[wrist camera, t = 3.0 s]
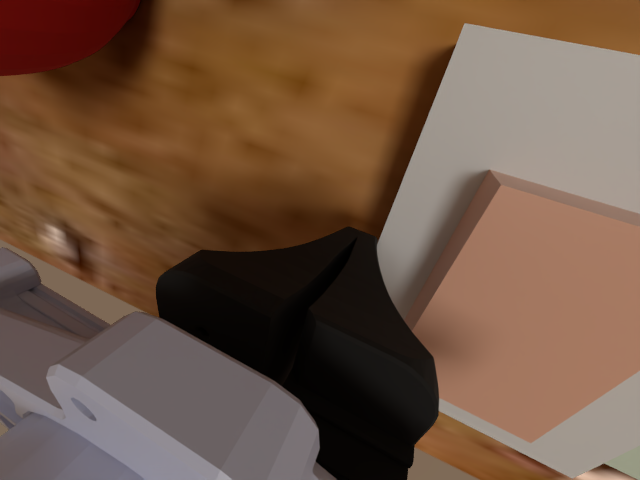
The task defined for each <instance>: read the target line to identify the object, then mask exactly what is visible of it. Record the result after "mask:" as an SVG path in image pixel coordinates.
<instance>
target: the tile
mask: <svg viewBox="0 0 640 480" xmlns="http://www.w3.org/2000/svg"><path fill="white" fill-rule="evenodd" d="M404 321H405V323H406V324H407V325H408V327H409V328H410V330H411V331H412V332H413V334H414V335H415V336H416V337H417V338H418V339H419V341H420V342H421V343H422V344H423V345H424V346H425V348H426V349H427V350H428V351H429V352H430V353H431V355H432V356H433V357H434V361H435V367H436V374H437V380H438V388H439V398H440V399H443V400H445V401H447V402H449V403H451V404H453V405H455V406H457V407H459V408H461V409H463V410H465V411H467V412H469V413H471V414H473V415H475V416H477V417H479V418H481V419H483V420H485V421H487V422H489V423H491V424H493V425H495V426H497V427H499V428H501V429H503V430H505V431H507V432H509V433H511V434H513V435H515V436H517V437H519V438H521V439H523V440H525V441H527V442H529V443H532V442H534V441H535V440H537V439H538V438H540V437H541V436H543V435H544V434H546V433H547V432H549V431H550V430H552V429H553V428H555V427H556V426H558V425H559V424H561V423H562V422H564V421H565V420H567V419H568V418H570V417H571V416H573V415H574V414H576V413H577V412H579V411H580V410H582V409H583V408H585V407H586V406H588V405H589V404H591V403H592V402H594V401H595V400H597V399H598V398H600V397H601V396H603V395H604V394H606V393H607V392H609V391H610V390H612V389H613V388H615V387H616V386H618V385H619V384H621V383H622V382H623V381H625V380H626V379H628V378H629V377H631V376H632V375H634V374H635V373H637V372H638V371H640V214H638V213H635V212H632V211H628V210H625V209H622V208H618V207H615V206H611V205H608V204H605V203H601V202H598V201H594V200H591V199H588V198H584V197H581V196H578V195H574V194H571V193H567V192H564V191H561V190H557V189H554V188H550V187H547V186H544V185H540V184H537V183H533V182H530V181H527V180H523V179H520V178H517V177H513V176H510V175H506V174H503V173H500V172H496V171H493V170H489V171H488V173H487V174H486V176H485V178H484V180H483V181H482V183H481V185H480V187H479V188H478V190H477V192H476V194H475V196H474V197H473V199H472V201H471V203H470V204H469V206H468V208H467V210H466V211H465V213H464V215H463V217H462V219H461V220H460V222H459V224H458V226H457V227H456V229H455V231H454V233H453V234H452V236H451V238H450V240H449V241H448V243H447V245H446V247H445V249H444V250H443V252H442V254H441V256H440V257H439V259H438V261H437V263H436V264H435V266H434V268H433V270H432V272H431V273H430V275H429V277H428V279H427V280H426V282H425V284H424V286H423V287H422V289H421V291H420V293H419V295H418V296H417V298H416V300H415V302H414V303H413V305H412V307H411V309H410V310H409V312H408V314H407V316H406V317H405V319H404Z"/></svg>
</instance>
